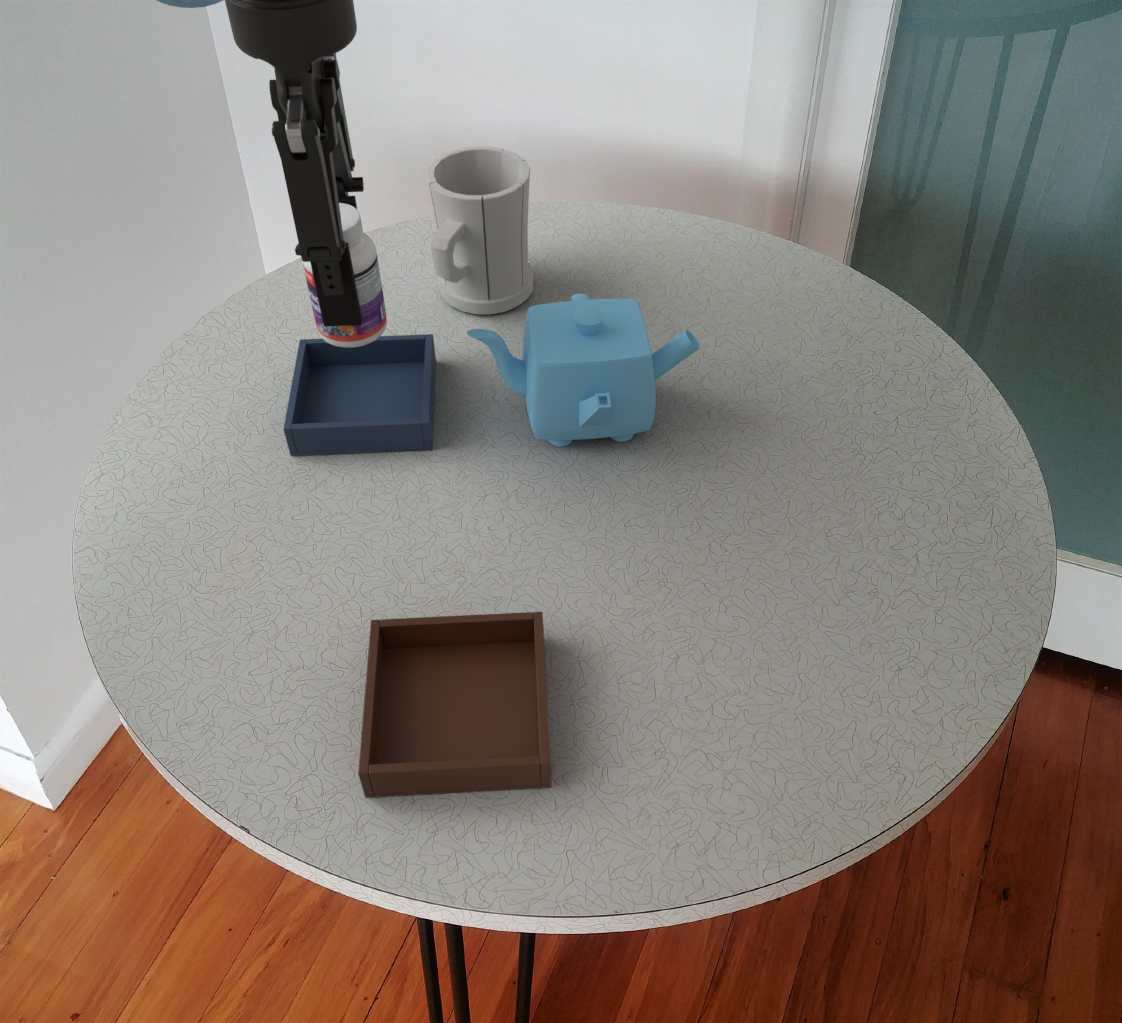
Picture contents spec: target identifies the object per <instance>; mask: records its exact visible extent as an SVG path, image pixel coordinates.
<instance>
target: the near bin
mask: <svg viewBox="0 0 1122 1023" xmlns="http://www.w3.org/2000/svg"><path fill="white" fill-rule="evenodd" d="M544 631H545V630H544V615H543V611H526V612H509V613H508V612H504V613H485V614H484V613H483V614H464V615H462V614H461V615H443V616H423V617H405V618H403V617H401V618H383V619H382V618H381V619H371V620H370V629H369V641H368V651H367V664H366V676H365V686H364V698H363V699H364V700H363V702H364V703H363V712H362V723H361V724H362V725H361V735H360V736H361V737H360V746H359V747H360V748H359V758H358V759H359V760H358V769H357V770H358V772H357V775H358V778H359V782H360V784H361V787H362V791H363V795H364V798H365V799H367V798H387V797H388V798H389V797H403V796H421V795H443V794H460V793H463V794H464V793H479V792H498V791H516V790H534V789H551V788H552V770H551V769H552V764H551V763H552V762H551V745H550V742H551V741H550V724H549V709H548V707H549V706H548V705H549V704H548V688H547V671H546V670H547V669H546V652H545V651H546V649H545V636H544V635H545V634H544V633H545V632H544Z"/></svg>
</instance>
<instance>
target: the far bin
mask: <svg viewBox="0 0 1122 1023" xmlns="http://www.w3.org/2000/svg"><path fill="white" fill-rule="evenodd" d="M434 339H435V338H434V334H433V333H425V334H424V333H423V334H400V335H399V334H398V335H381V336H380V337H379V338H377V339H376V340H374V341H373V342H371V343H369V344H366V345H363V346H359V347H351V348H346V347H338V346H334V345H331V344H329V343H327V342H326V341H324V340H323V339H322V338H303V339H299V342H298V348H297V353H296V358H295V364H294V369H293V376H292V379H291V380H292V381H291V386H290V391H289V397H288V402H287V407H286V414H285V419H284V424H283V433H284V436H285V440H286V443H287V448H288V451H289V455H290V457H301V456H303V457H304V456H324V455H325V456H326V455H345V454H347V455H348V454H349V455H350V454H368V453H369V454H370V453H392V452H394V453H395V452H414V451H415V452H416V451H417V452H418V451H433V448H434V446H433V445H434V424H435V421H434V420H435V400H436V399H435V398H436V397H435V396H436V375H437V374H436V372H437V356H436V349H435V348H436V347H435V340H434Z"/></svg>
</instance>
